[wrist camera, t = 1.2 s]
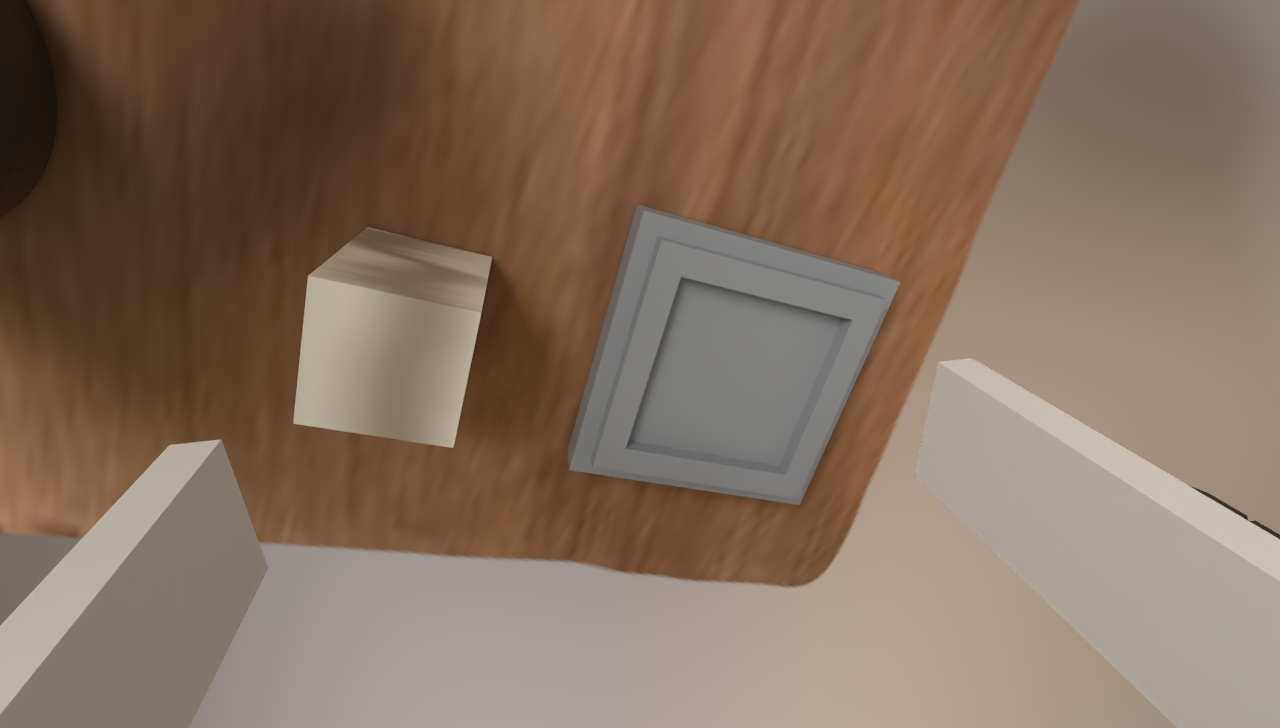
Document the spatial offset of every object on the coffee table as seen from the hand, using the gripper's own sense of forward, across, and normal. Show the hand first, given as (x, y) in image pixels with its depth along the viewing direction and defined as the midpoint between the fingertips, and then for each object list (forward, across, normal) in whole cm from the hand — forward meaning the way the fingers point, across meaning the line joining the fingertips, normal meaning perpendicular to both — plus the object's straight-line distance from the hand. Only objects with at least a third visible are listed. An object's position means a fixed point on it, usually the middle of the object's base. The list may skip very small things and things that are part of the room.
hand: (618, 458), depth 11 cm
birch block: (+22, -7, -4) cm, 23 cm away
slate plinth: (+21, +10, -9) cm, 25 cm away
